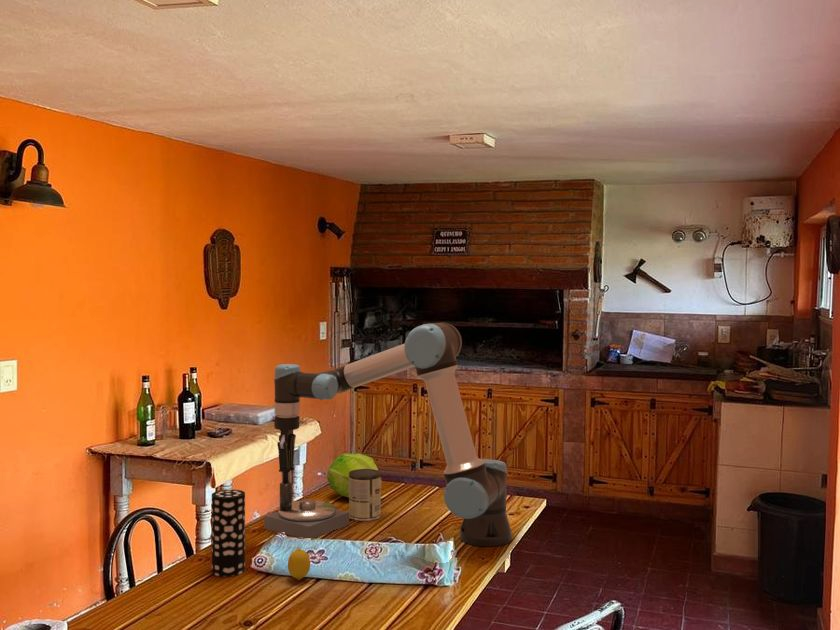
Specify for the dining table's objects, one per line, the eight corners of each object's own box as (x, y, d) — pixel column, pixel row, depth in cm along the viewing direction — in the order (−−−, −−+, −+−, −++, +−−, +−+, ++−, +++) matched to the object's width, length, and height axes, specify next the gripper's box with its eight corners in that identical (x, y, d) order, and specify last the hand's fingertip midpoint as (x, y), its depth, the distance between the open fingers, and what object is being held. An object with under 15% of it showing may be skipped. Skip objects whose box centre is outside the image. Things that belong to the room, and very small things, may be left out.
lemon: (285, 577, 202) (285, 546, 202) (307, 575, 204) (307, 543, 204) (290, 585, 197) (290, 553, 197) (312, 582, 199) (312, 550, 199)
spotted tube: (251, 568, 208) (251, 492, 207) (228, 579, 201) (228, 499, 200) (228, 562, 212) (228, 487, 211) (204, 572, 205) (204, 495, 204)
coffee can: (351, 511, 261) (351, 468, 260) (383, 512, 260) (383, 469, 259) (345, 520, 251) (345, 475, 250) (378, 521, 250) (378, 476, 249)
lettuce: (358, 514, 265) (358, 470, 262) (318, 496, 278) (317, 455, 275) (393, 498, 278) (393, 457, 275) (353, 482, 291) (353, 442, 288)
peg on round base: (328, 503, 254) (329, 473, 254) (340, 518, 238) (341, 486, 238) (274, 507, 249) (274, 477, 248) (283, 523, 233) (283, 491, 232)
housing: (349, 525, 246) (349, 512, 246) (308, 540, 231) (308, 526, 231) (305, 514, 256) (305, 502, 256) (264, 528, 242) (264, 515, 241)
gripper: (280, 411, 250) (279, 486, 252) (268, 419, 237) (268, 497, 239) (304, 412, 250) (303, 487, 251) (293, 419, 237) (293, 498, 238)
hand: (286, 492), depth 245 cm, fingers closed
